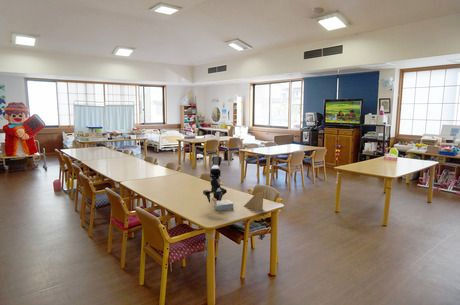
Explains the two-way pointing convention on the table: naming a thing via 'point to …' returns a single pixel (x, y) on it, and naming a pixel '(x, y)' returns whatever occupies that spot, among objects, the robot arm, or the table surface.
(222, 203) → the lid
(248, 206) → the sandwich container
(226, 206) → the tub
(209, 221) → the table surface
